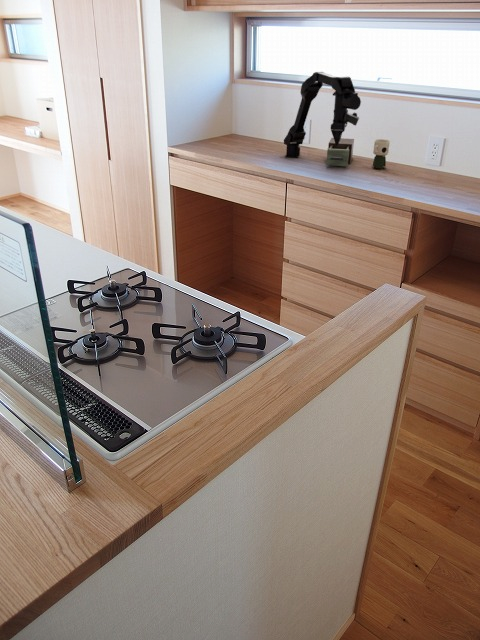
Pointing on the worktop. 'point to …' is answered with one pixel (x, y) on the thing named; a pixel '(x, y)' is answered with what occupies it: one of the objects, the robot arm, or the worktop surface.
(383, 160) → the toy figurine
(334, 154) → the drawer
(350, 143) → the cabinet
